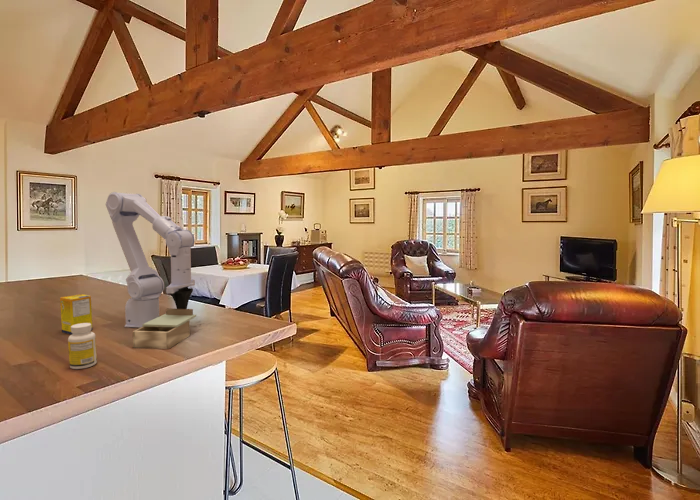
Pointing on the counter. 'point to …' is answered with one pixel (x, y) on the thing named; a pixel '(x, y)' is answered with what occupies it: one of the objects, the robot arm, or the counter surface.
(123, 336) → the counter surface
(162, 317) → the lid
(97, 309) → the counter surface
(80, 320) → the supplement box
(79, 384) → the counter surface
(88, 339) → the supplement bottle
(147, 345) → the box
